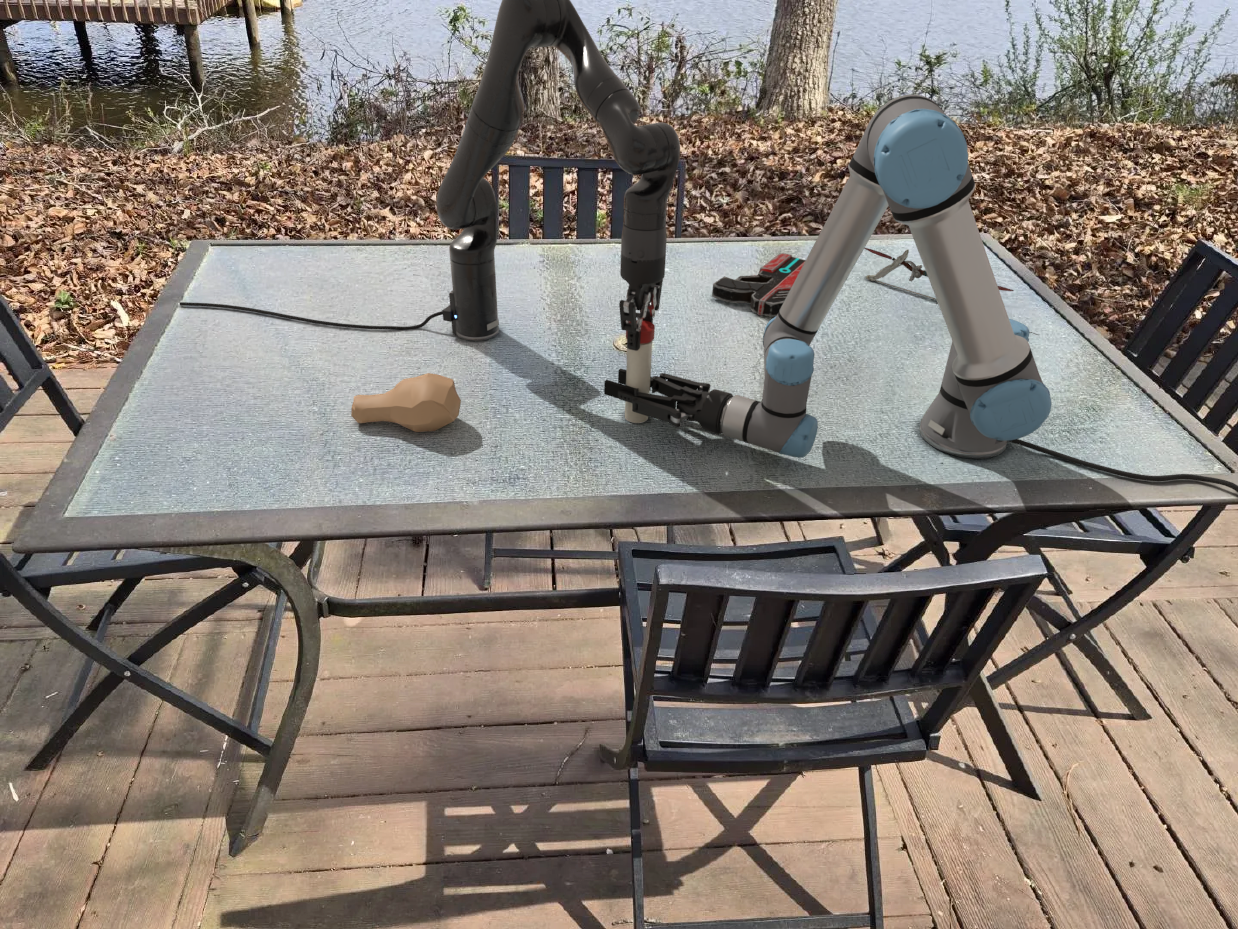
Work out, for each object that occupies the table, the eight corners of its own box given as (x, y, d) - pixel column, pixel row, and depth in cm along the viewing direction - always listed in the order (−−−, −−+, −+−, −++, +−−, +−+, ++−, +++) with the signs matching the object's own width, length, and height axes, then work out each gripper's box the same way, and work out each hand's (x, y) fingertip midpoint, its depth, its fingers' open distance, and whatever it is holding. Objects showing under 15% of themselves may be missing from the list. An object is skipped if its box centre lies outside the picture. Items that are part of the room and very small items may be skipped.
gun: (708, 284, 207) (784, 305, 199) (760, 245, 229) (831, 262, 221) (706, 302, 209) (781, 323, 201) (758, 261, 231) (828, 278, 223)
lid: (659, 339, 154) (660, 328, 153) (635, 346, 152) (635, 334, 151) (644, 329, 158) (644, 317, 157) (620, 334, 156) (620, 323, 154)
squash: (461, 438, 156) (449, 399, 150) (353, 447, 158) (336, 409, 152) (469, 400, 164) (458, 361, 158) (366, 408, 166) (350, 370, 160)
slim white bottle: (633, 425, 161) (637, 336, 152) (620, 415, 165) (622, 327, 155) (653, 419, 164) (658, 331, 154) (639, 408, 167) (643, 321, 157)
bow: (1006, 319, 205) (1018, 279, 199) (1003, 322, 204) (1015, 281, 198) (860, 274, 226) (867, 237, 221) (856, 276, 225) (863, 238, 220)
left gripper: (639, 234, 153) (636, 323, 162) (604, 260, 142) (603, 354, 151) (679, 241, 150) (673, 331, 160) (647, 268, 139) (643, 364, 149)
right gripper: (705, 456, 149) (587, 419, 158) (744, 411, 162) (634, 380, 171) (708, 418, 145) (588, 382, 154) (749, 375, 158) (635, 345, 167)
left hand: (639, 342), depth 156 cm, fingers closed on lid, 5 cm apart
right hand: (612, 381), depth 163 cm, fingers closed on slim white bottle, 4 cm apart
